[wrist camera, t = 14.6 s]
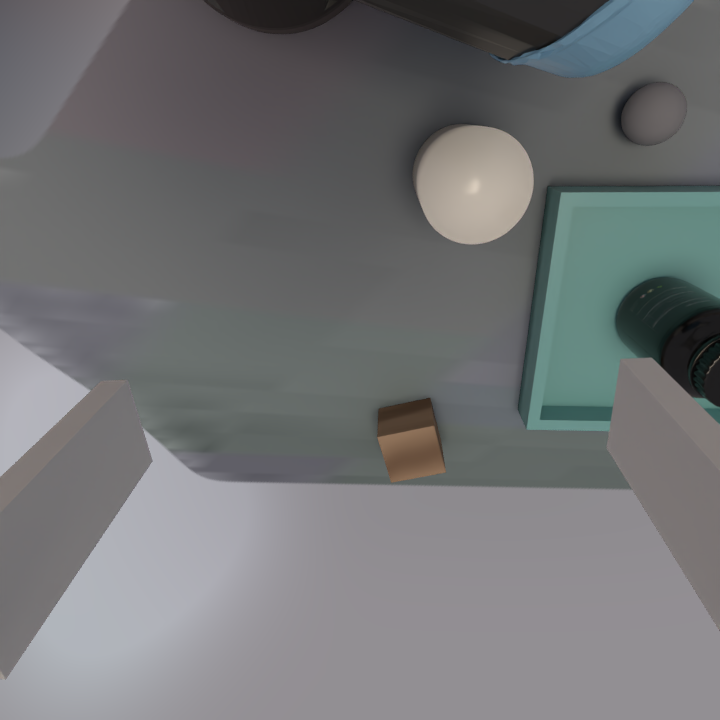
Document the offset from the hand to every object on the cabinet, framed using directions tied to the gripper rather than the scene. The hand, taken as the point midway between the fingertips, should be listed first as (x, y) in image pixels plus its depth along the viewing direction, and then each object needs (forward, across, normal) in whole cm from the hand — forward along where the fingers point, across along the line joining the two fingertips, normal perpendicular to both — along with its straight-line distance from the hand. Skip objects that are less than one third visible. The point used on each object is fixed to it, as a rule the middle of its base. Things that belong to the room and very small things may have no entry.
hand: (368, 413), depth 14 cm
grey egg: (+31, +19, +5) cm, 37 cm away
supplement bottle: (+30, +22, -10) cm, 39 cm away
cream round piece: (+31, +6, +2) cm, 32 cm away
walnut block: (+31, +1, -20) cm, 37 cm away
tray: (+31, +22, -10) cm, 39 cm away
